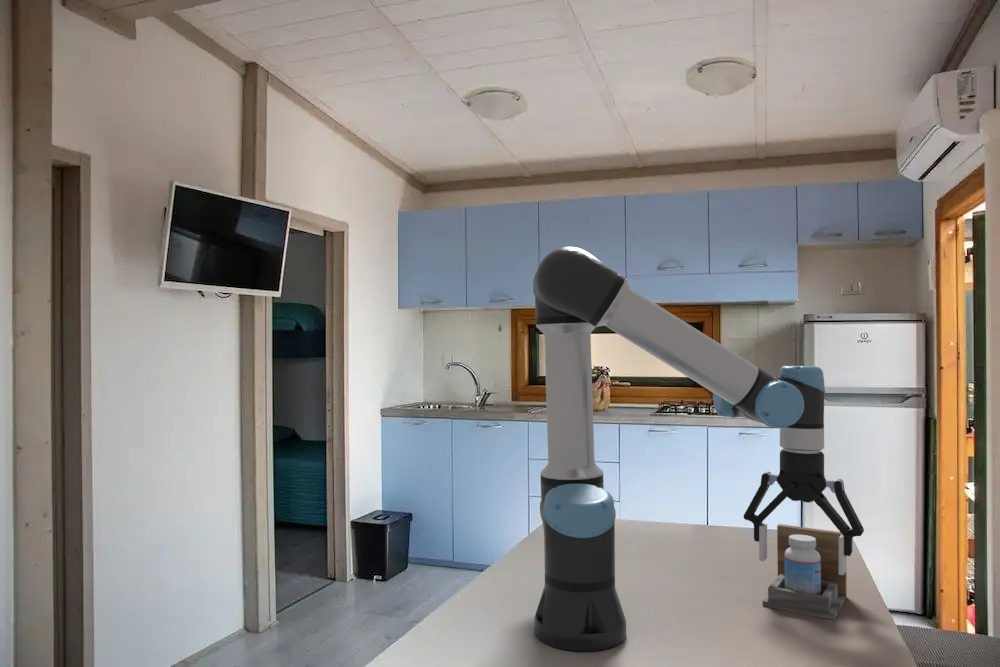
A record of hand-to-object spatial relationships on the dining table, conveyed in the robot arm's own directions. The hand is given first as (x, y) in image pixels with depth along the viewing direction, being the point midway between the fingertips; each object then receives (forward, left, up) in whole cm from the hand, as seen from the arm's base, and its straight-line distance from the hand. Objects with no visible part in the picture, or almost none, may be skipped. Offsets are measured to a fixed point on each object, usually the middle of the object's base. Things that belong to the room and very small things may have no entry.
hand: (801, 566), depth 131 cm
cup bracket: (+2, 0, -7) cm, 7 cm away
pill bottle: (0, 0, -6) cm, 6 cm away
